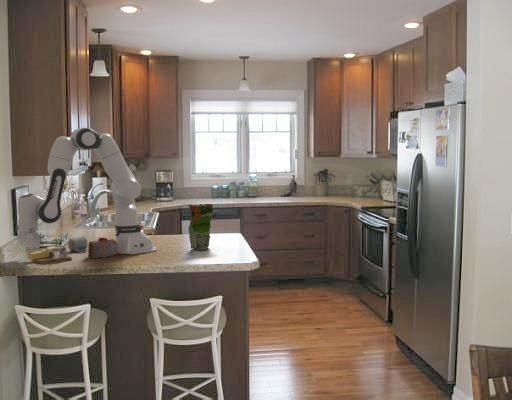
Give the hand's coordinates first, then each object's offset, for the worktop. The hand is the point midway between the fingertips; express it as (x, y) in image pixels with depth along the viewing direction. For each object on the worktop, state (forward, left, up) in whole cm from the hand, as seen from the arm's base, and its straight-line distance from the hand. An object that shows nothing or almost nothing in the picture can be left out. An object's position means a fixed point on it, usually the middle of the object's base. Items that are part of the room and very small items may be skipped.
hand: (29, 255), depth 270 cm
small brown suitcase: (-34, +7, -3) cm, 35 cm away
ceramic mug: (-26, -15, -3) cm, 30 cm away
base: (-10, +1, -3) cm, 11 cm away
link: (-6, +1, -1) cm, 6 cm away
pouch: (-84, +14, -3) cm, 85 cm away
